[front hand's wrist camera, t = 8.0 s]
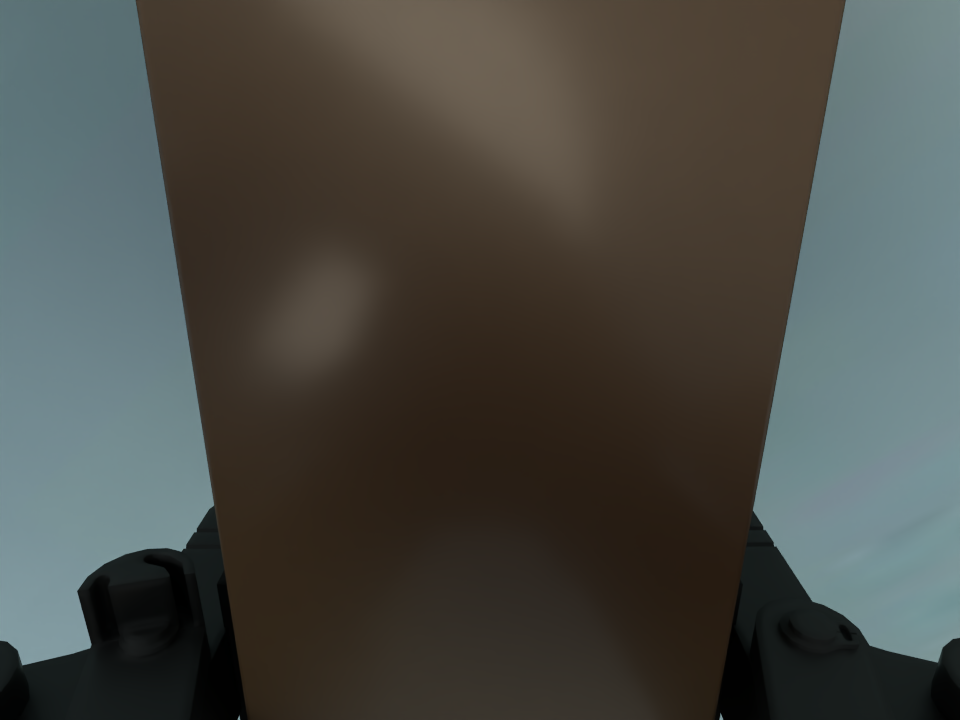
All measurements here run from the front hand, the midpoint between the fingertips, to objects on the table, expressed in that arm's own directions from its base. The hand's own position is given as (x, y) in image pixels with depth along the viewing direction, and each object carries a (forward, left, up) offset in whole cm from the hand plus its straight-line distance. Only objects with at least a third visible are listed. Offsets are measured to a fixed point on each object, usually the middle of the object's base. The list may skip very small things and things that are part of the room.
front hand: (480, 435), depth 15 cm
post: (+25, +11, 0) cm, 27 cm away
